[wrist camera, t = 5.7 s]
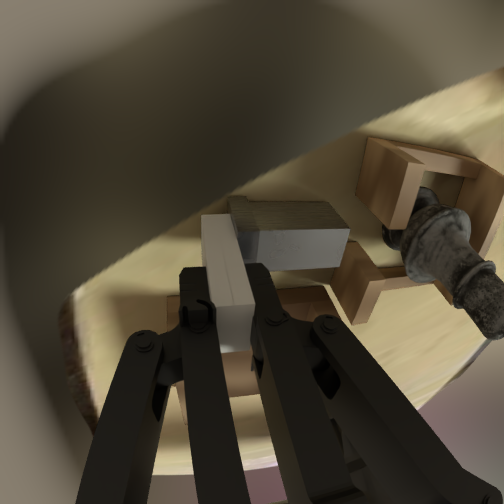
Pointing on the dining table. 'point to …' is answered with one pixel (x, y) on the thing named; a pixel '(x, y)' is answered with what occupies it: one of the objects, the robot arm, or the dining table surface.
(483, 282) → the chess piece
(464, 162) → the socket frame
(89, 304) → the dining table surface
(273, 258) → the bar
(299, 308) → the rack
